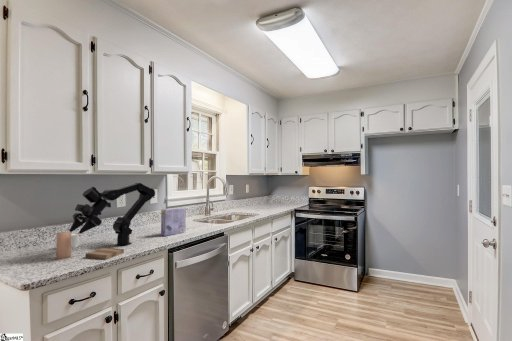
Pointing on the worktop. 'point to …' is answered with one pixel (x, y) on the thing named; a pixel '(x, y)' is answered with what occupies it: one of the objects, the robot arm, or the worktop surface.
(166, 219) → the cake pan box
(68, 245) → the pink rounded glossy part
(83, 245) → the worktop surface
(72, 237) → the shot glass
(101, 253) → the walnut stand
